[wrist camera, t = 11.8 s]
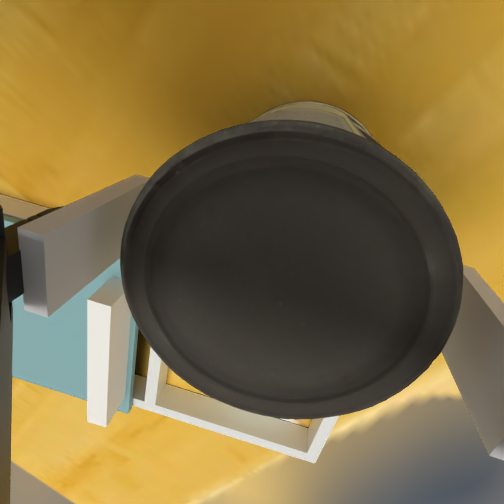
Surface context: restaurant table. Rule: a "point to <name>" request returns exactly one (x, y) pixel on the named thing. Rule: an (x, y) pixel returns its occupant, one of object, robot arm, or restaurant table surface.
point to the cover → (81, 346)
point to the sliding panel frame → (205, 408)
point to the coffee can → (292, 266)
